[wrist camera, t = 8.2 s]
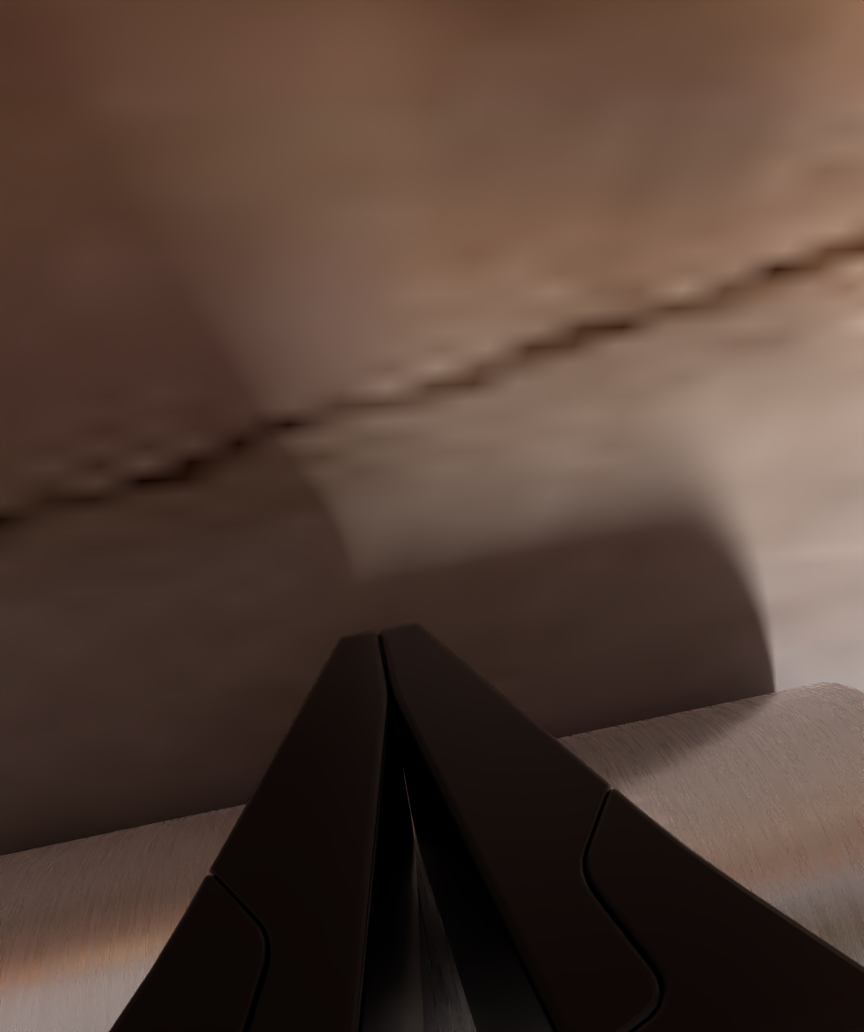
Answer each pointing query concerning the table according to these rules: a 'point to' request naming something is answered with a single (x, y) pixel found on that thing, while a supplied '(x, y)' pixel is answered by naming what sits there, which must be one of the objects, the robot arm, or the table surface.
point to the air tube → (447, 1018)
